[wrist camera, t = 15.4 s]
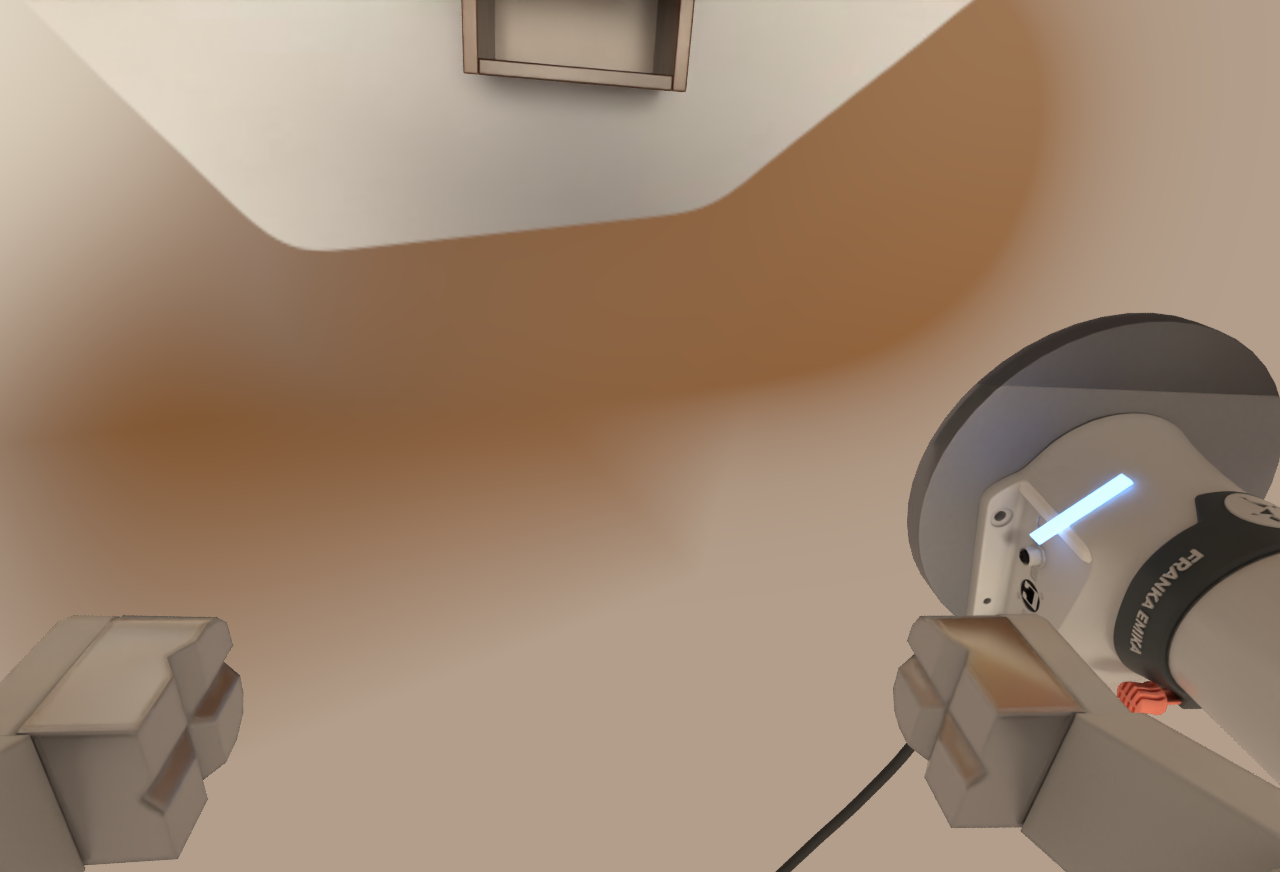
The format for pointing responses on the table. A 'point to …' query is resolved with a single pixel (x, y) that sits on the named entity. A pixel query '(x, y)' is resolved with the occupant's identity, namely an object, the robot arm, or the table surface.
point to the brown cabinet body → (580, 41)
